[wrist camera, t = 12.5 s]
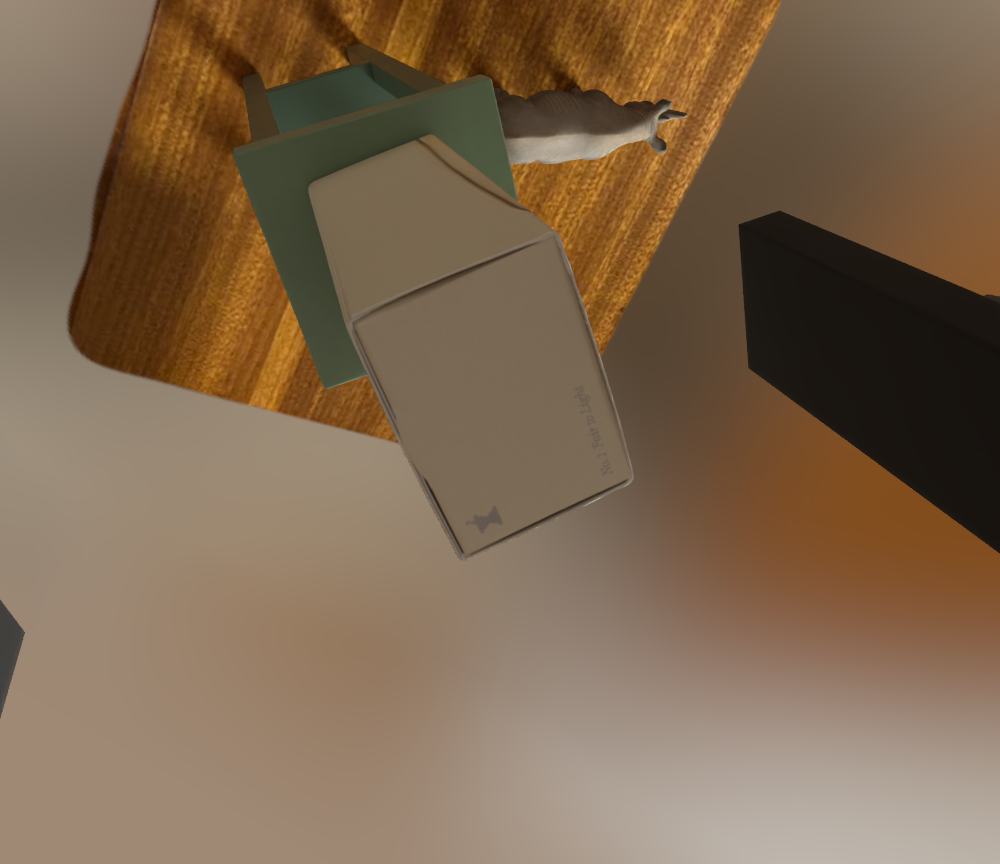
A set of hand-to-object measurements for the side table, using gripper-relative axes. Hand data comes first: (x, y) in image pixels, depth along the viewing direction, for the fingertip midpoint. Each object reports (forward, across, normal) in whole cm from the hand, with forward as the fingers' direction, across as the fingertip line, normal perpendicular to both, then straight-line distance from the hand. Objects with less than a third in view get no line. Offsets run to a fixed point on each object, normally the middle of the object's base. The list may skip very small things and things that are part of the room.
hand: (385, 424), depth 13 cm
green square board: (+15, +3, -2) cm, 16 cm away
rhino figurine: (+40, +17, -6) cm, 44 cm away
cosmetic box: (+14, +2, -2) cm, 15 cm away
